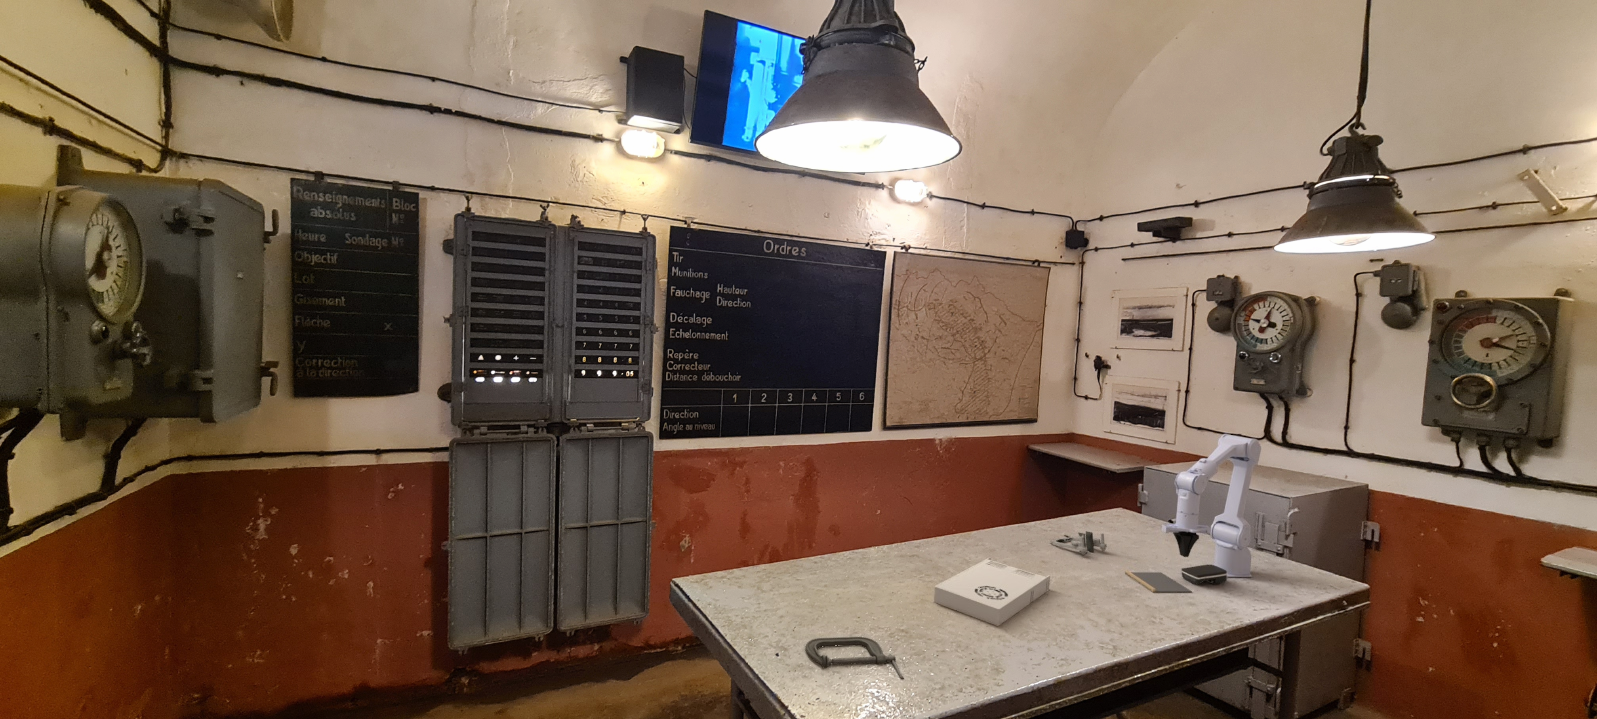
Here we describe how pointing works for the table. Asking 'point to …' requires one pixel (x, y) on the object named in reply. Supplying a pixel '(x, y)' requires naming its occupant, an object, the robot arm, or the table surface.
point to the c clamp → (865, 642)
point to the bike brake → (1082, 542)
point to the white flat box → (991, 591)
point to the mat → (1157, 582)
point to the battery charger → (1204, 574)
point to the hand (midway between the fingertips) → (1184, 555)
